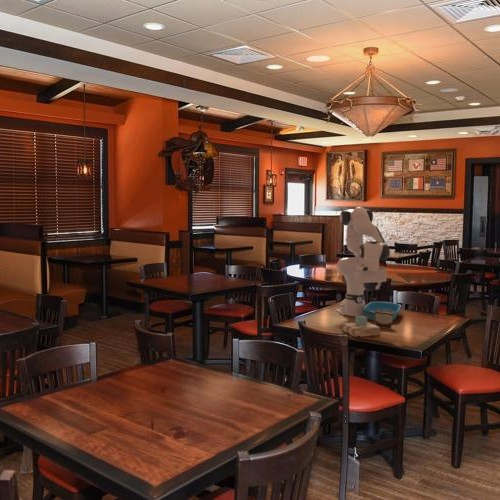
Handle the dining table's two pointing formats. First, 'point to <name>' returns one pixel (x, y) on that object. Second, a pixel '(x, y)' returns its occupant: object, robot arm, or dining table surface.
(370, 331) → the folded beige towel
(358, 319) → the teal block
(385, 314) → the food container
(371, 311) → the casserole dish
